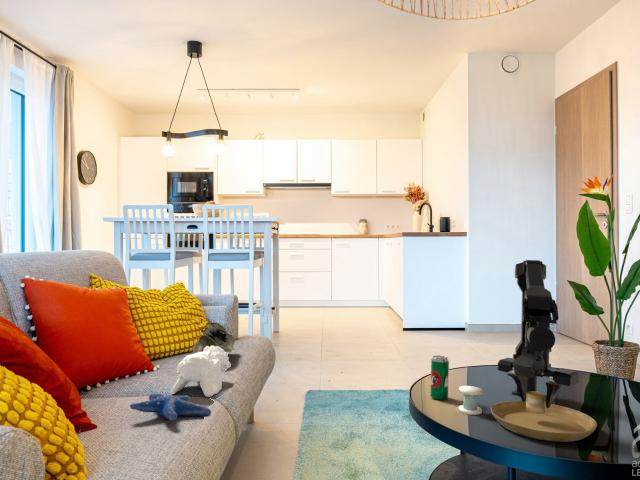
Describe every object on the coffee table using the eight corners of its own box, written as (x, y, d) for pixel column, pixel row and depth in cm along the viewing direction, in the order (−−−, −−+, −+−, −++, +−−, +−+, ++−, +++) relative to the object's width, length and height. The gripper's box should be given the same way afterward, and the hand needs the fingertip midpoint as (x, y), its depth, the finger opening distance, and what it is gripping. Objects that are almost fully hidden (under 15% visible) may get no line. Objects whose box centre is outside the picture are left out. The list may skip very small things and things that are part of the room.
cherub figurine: (236, 347, 158) (213, 354, 138) (233, 387, 156) (209, 400, 137) (198, 343, 160) (169, 349, 140) (194, 383, 158) (164, 395, 139)
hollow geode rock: (220, 362, 200) (195, 334, 200) (243, 341, 200) (219, 313, 200) (201, 379, 172) (172, 346, 172) (228, 354, 172) (200, 322, 172)
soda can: (448, 401, 142) (449, 359, 142) (430, 400, 143) (431, 358, 143) (447, 396, 147) (448, 355, 147) (430, 394, 148) (431, 354, 148)
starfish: (201, 431, 115) (202, 409, 115) (121, 428, 115) (122, 406, 115) (219, 404, 134) (220, 386, 134) (150, 402, 134) (151, 384, 134)
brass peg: (530, 407, 130) (531, 390, 130) (547, 411, 126) (548, 394, 126) (522, 410, 127) (523, 393, 127) (539, 415, 123) (540, 397, 124)
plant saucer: (492, 406, 140) (492, 394, 140) (589, 420, 131) (589, 407, 131) (488, 436, 117) (488, 422, 117) (604, 455, 108) (604, 439, 108)
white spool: (466, 406, 138) (467, 384, 138) (486, 412, 134) (486, 389, 134) (454, 410, 134) (454, 388, 134) (474, 416, 130) (474, 393, 130)
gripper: (487, 340, 128) (485, 401, 128) (561, 354, 114) (559, 422, 114) (508, 336, 136) (507, 393, 136) (580, 348, 122) (579, 412, 122)
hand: (535, 404), depth 127 cm, fingers open, 6 cm apart
